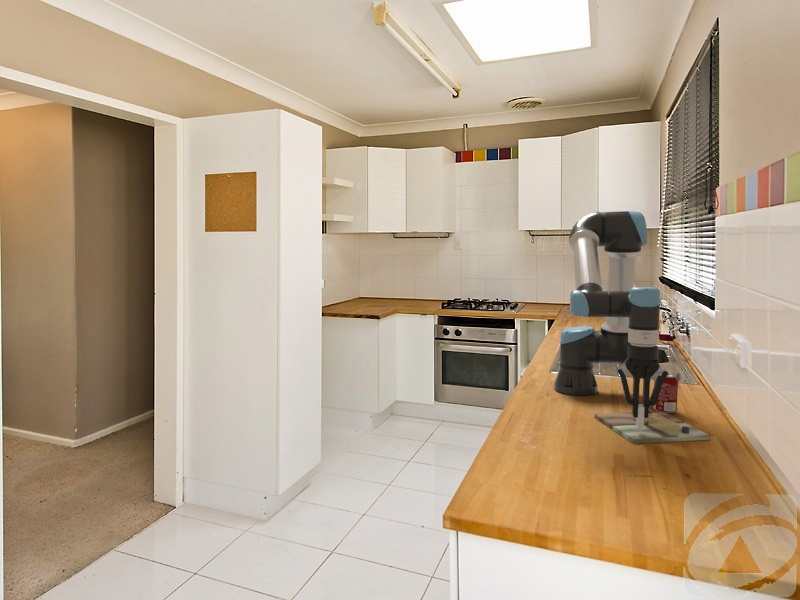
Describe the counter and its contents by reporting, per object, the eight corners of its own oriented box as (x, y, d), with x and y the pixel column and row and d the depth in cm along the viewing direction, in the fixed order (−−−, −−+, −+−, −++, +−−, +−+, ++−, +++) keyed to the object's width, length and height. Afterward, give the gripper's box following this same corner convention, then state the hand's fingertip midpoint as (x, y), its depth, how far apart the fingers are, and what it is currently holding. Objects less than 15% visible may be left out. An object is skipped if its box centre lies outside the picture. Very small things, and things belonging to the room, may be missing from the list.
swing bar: (638, 420, 156) (638, 408, 156) (650, 419, 157) (650, 407, 156) (667, 436, 143) (668, 422, 143) (680, 435, 144) (681, 421, 143)
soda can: (679, 415, 166) (681, 377, 165) (656, 414, 167) (657, 376, 166) (673, 408, 172) (674, 372, 171) (650, 407, 174) (652, 371, 173)
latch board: (594, 417, 164) (594, 409, 164) (661, 414, 166) (661, 406, 166) (633, 443, 142) (633, 433, 142) (709, 439, 145) (710, 430, 144)
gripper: (619, 345, 142) (616, 431, 144) (672, 347, 138) (668, 435, 141) (615, 340, 149) (612, 422, 151) (665, 342, 146) (662, 426, 148)
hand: (639, 428), depth 146 cm, fingers closed
